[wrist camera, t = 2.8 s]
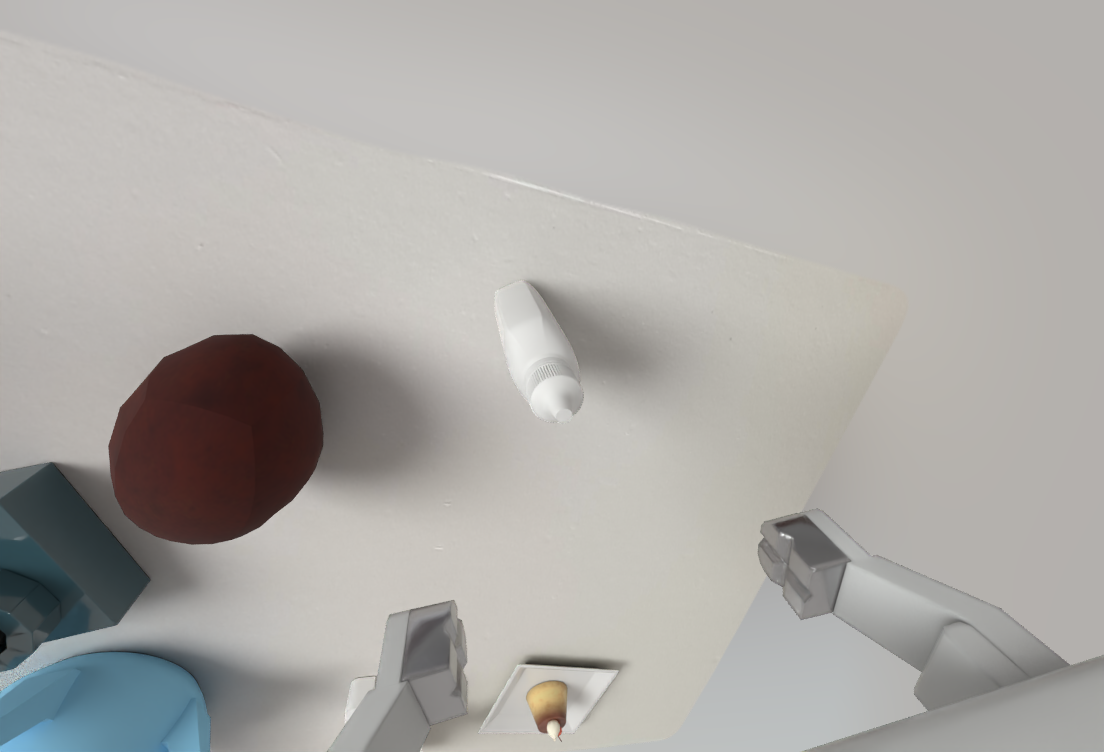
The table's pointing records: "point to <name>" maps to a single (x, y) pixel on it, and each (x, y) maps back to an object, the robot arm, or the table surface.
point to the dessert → (546, 699)
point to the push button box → (56, 564)
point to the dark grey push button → (2, 637)
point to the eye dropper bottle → (538, 353)
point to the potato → (215, 440)
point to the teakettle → (105, 707)
